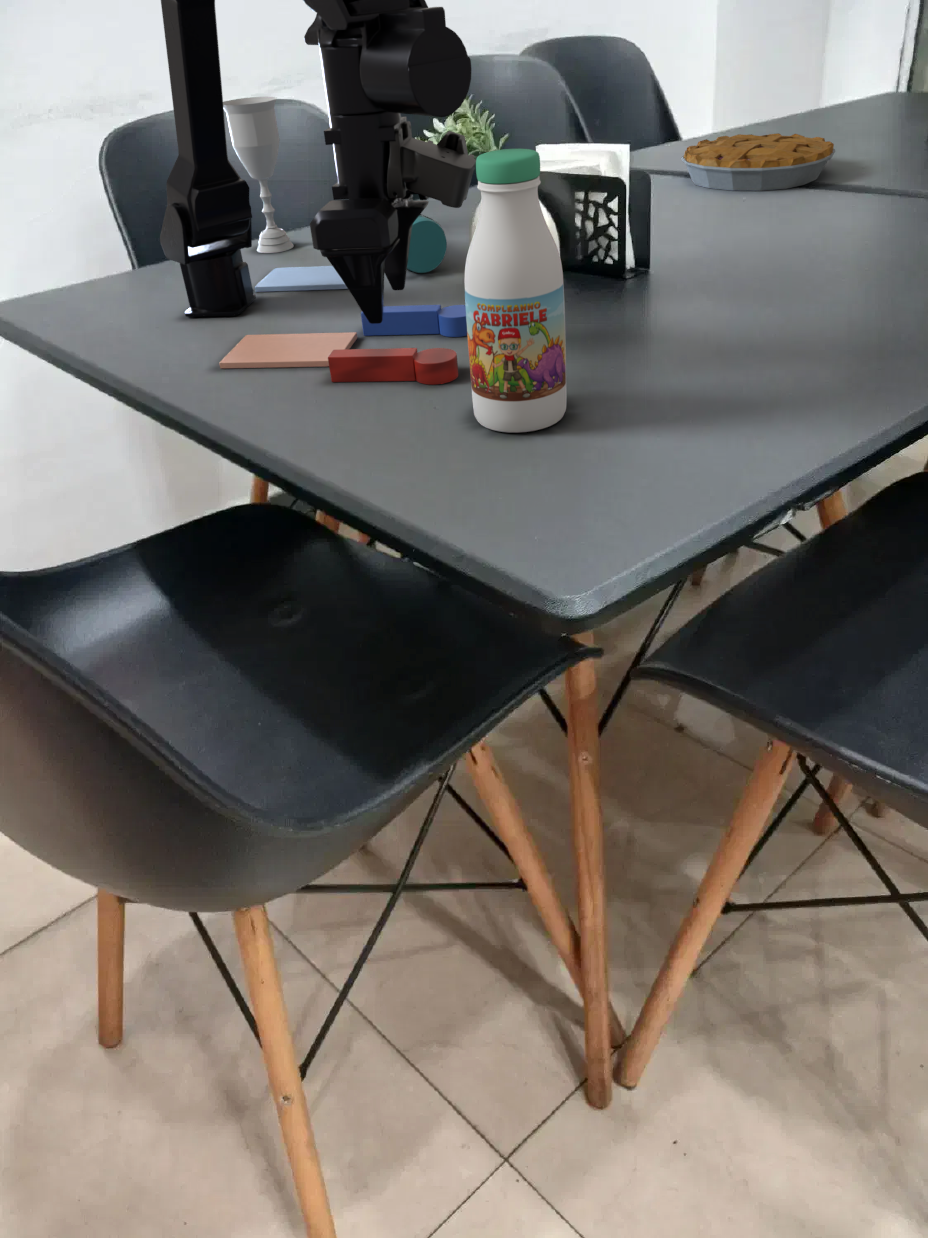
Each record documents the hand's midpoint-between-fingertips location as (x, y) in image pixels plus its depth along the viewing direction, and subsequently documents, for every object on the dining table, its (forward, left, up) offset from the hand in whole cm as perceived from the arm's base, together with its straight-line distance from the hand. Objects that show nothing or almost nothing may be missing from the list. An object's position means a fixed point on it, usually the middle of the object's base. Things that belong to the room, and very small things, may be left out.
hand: (387, 305), depth 86 cm
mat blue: (-17, +32, -7) cm, 37 cm away
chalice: (-27, +48, -7) cm, 56 cm away
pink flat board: (-12, +7, -7) cm, 16 cm away
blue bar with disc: (0, +12, -7) cm, 14 cm away
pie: (+39, +78, -7) cm, 87 cm away
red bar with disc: (0, 0, -7) cm, 7 cm away
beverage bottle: (-2, +31, -4) cm, 31 cm away
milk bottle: (+13, -9, -7) cm, 17 cm away
